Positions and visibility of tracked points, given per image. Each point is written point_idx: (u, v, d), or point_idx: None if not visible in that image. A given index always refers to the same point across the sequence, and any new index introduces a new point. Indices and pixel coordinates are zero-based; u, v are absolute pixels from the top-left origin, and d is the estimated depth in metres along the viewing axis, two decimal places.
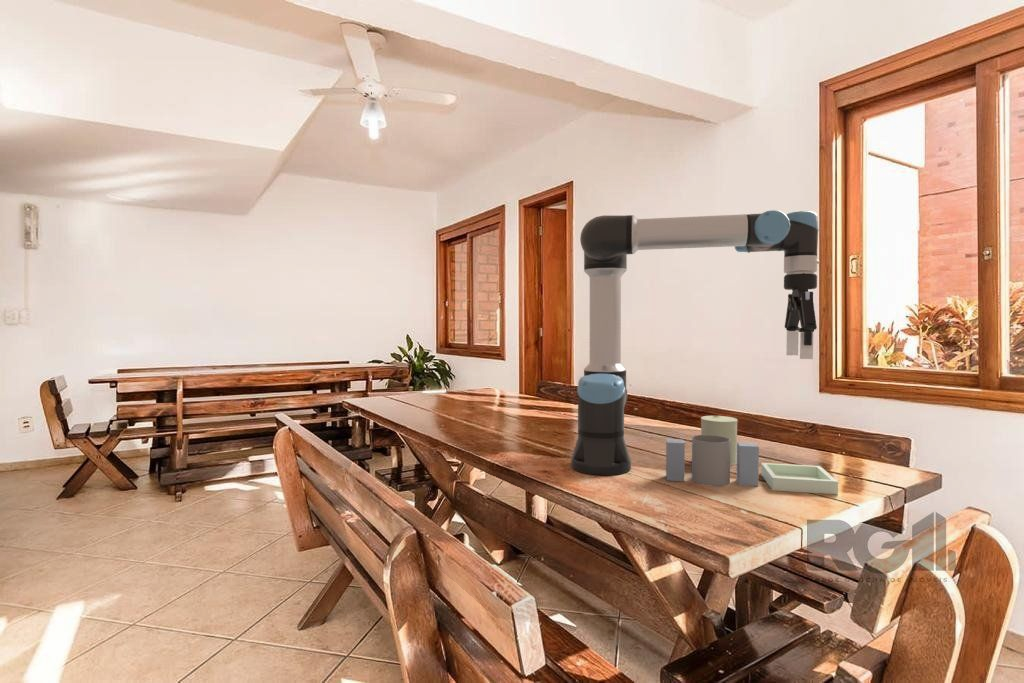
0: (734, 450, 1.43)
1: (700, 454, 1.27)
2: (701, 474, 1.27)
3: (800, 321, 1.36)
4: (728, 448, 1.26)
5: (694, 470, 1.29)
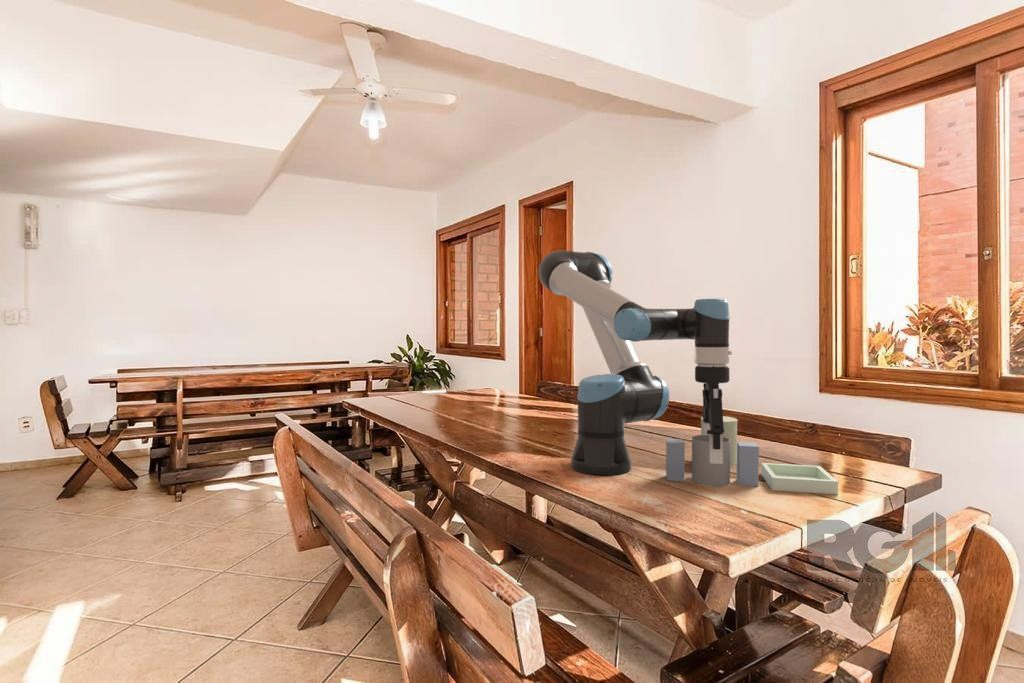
0: (734, 450, 1.43)
1: (700, 454, 1.27)
2: (701, 474, 1.27)
3: (709, 421, 1.24)
4: (728, 448, 1.26)
5: (694, 470, 1.29)
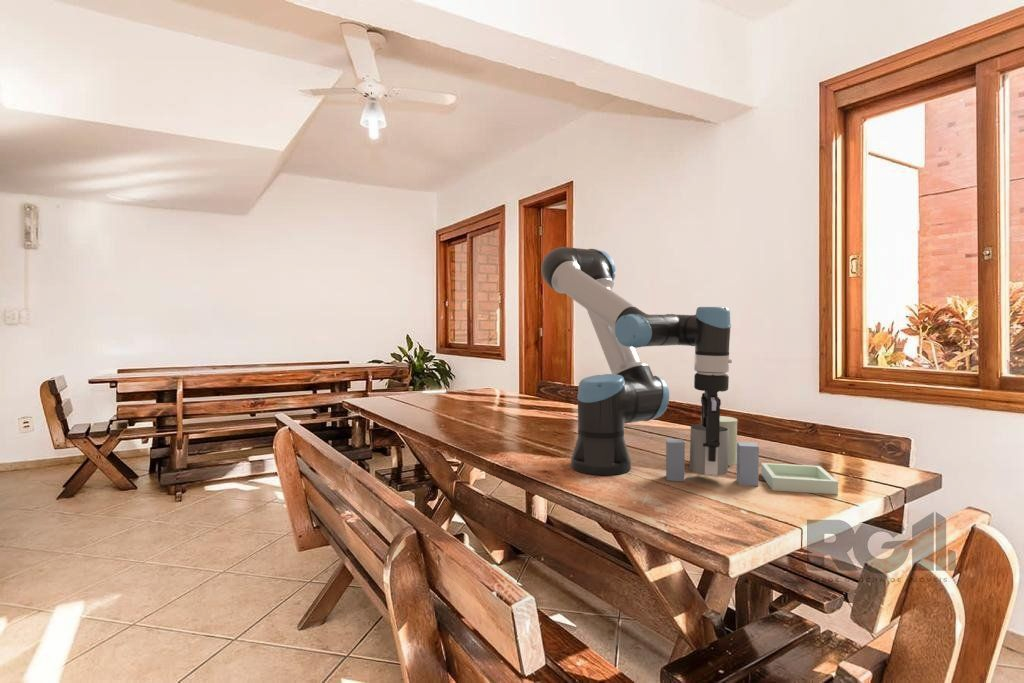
0: (734, 450, 1.43)
1: (699, 443, 1.27)
2: (699, 463, 1.27)
3: (706, 431, 1.26)
4: (726, 437, 1.27)
5: (692, 459, 1.29)
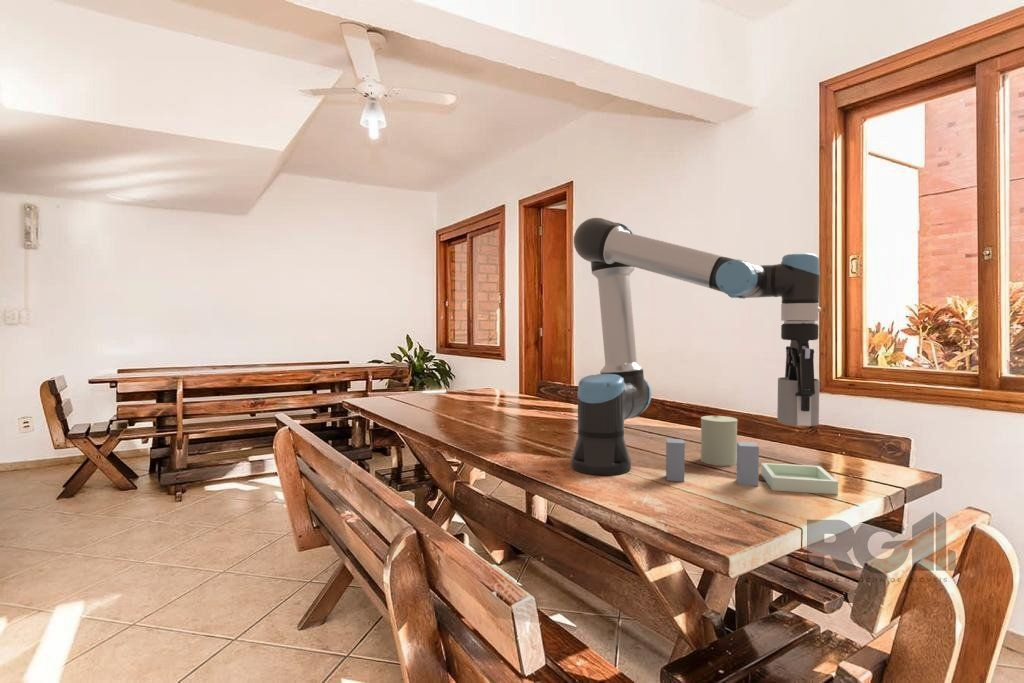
0: (734, 450, 1.43)
1: (789, 394, 1.24)
2: (790, 414, 1.24)
3: None
4: (818, 387, 1.23)
5: (781, 411, 1.26)
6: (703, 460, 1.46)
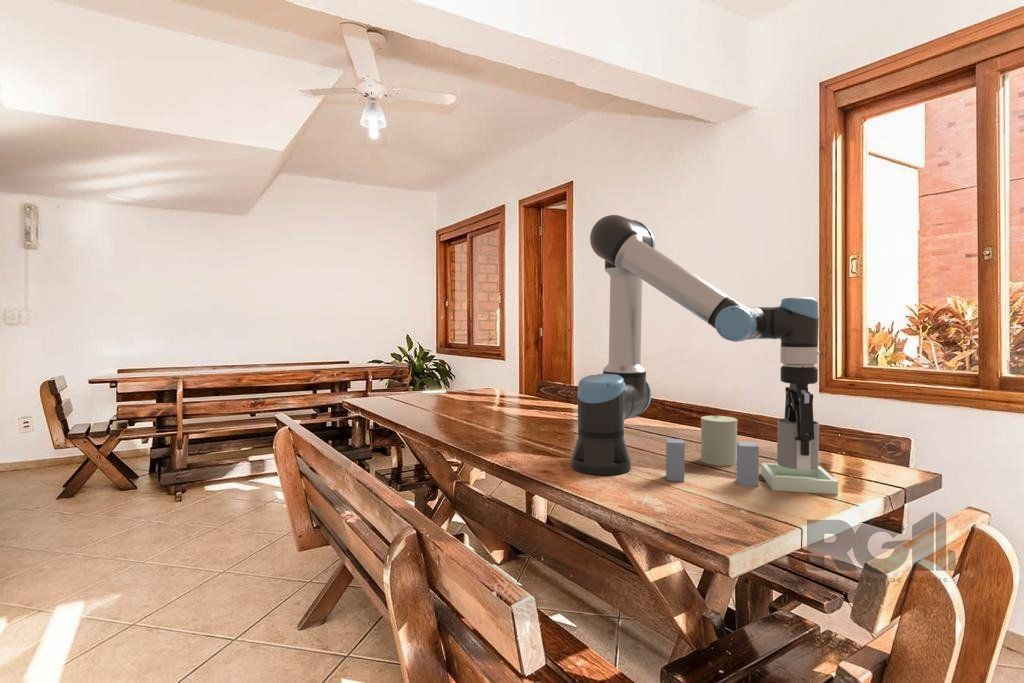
0: (734, 450, 1.43)
1: (789, 437, 1.24)
2: (789, 457, 1.24)
3: (797, 425, 1.23)
4: (817, 431, 1.24)
5: (781, 454, 1.26)
6: (703, 460, 1.46)
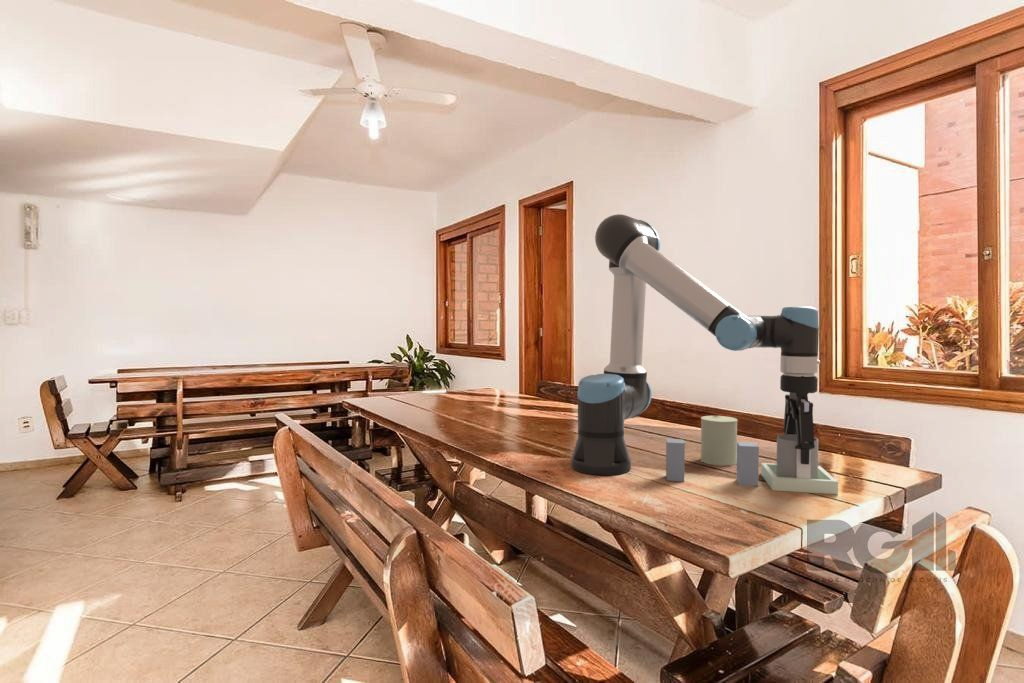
0: (734, 450, 1.43)
1: (788, 454, 1.24)
2: (789, 474, 1.24)
3: (797, 434, 1.22)
4: (817, 448, 1.24)
5: (780, 470, 1.26)
6: (703, 460, 1.46)
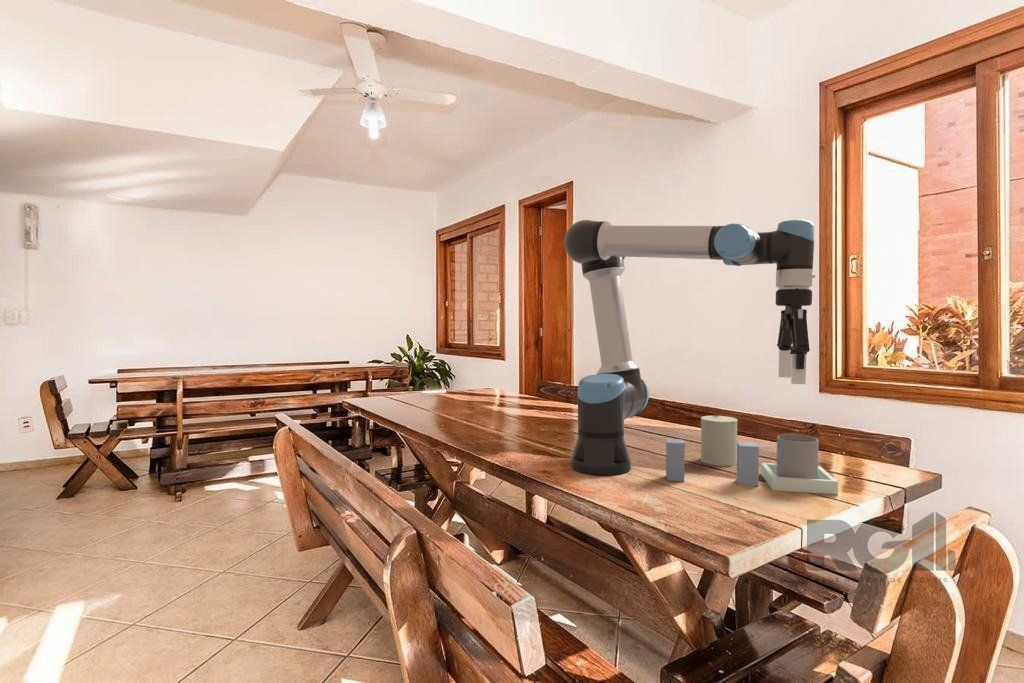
0: (734, 450, 1.43)
1: (788, 454, 1.24)
2: (789, 474, 1.24)
3: (792, 342, 1.23)
4: (817, 448, 1.24)
5: (780, 470, 1.26)
6: (703, 460, 1.46)
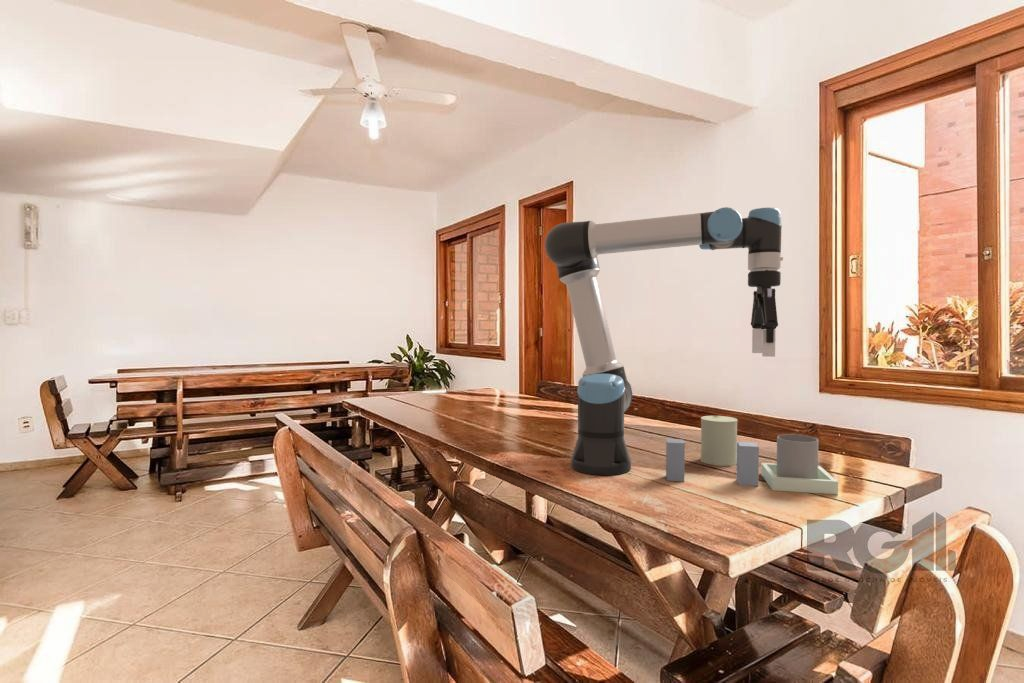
0: (734, 450, 1.43)
1: (788, 454, 1.24)
2: (789, 474, 1.24)
3: (763, 318, 1.35)
4: (817, 448, 1.24)
5: (780, 470, 1.26)
6: (703, 460, 1.46)
